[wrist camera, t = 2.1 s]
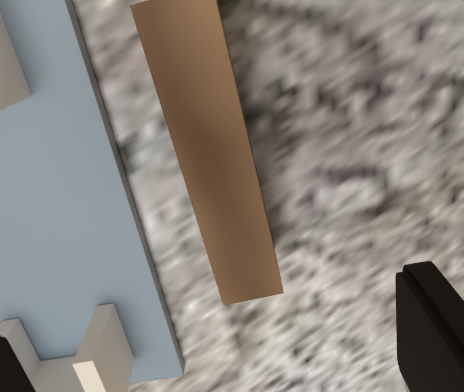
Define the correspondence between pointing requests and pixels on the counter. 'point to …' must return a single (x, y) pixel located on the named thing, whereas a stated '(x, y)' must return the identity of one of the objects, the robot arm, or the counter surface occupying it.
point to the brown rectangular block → (211, 141)
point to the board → (71, 204)
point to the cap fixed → (10, 72)
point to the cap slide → (79, 357)
